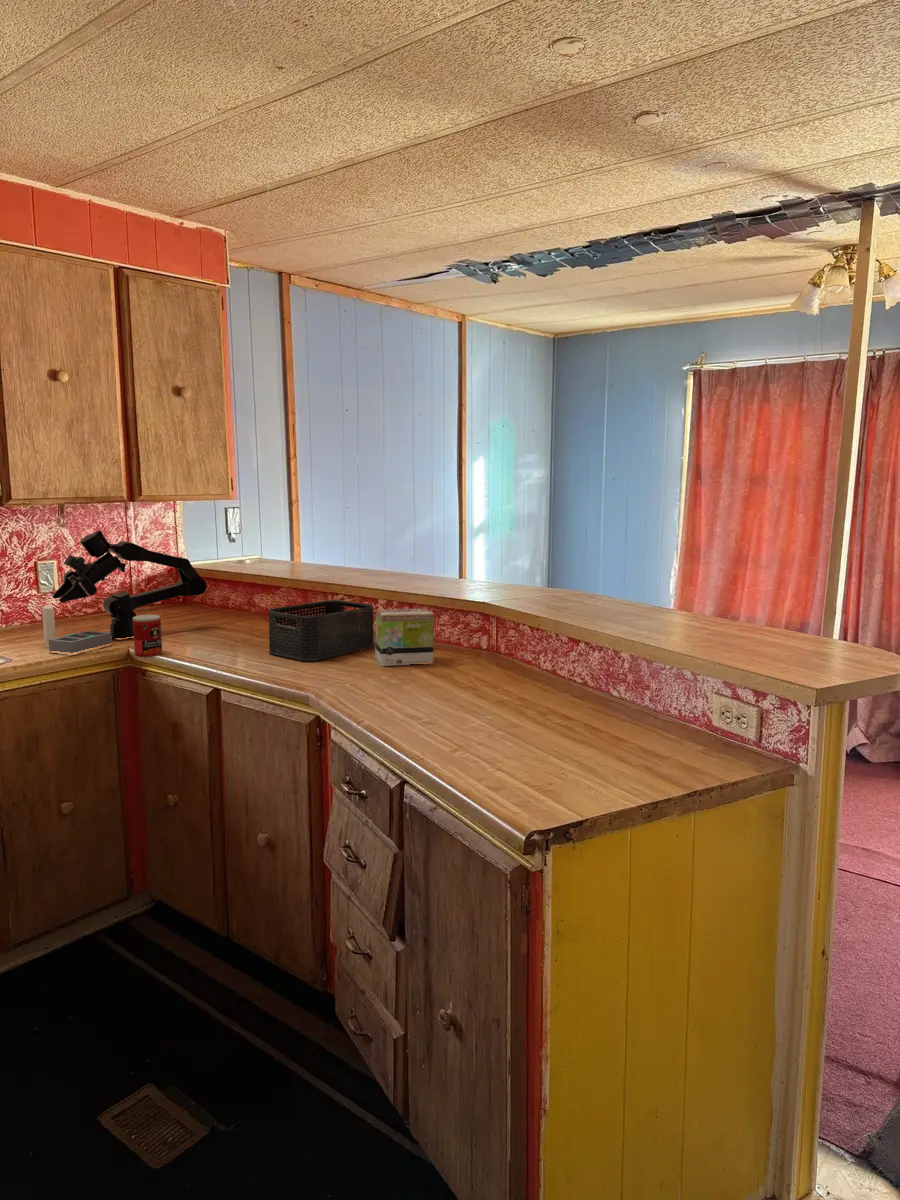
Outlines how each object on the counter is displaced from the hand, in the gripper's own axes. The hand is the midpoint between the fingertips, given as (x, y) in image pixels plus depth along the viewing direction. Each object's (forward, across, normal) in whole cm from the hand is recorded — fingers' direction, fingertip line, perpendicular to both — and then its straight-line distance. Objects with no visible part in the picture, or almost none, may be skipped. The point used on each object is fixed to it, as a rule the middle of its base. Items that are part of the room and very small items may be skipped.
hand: (56, 599), depth 251 cm
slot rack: (+4, +9, +14) cm, 17 cm away
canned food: (-8, +26, +22) cm, 35 cm away
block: (+10, -1, +11) cm, 15 cm away
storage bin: (-45, +51, +46) cm, 82 cm away
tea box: (-54, +78, +53) cm, 109 cm away
